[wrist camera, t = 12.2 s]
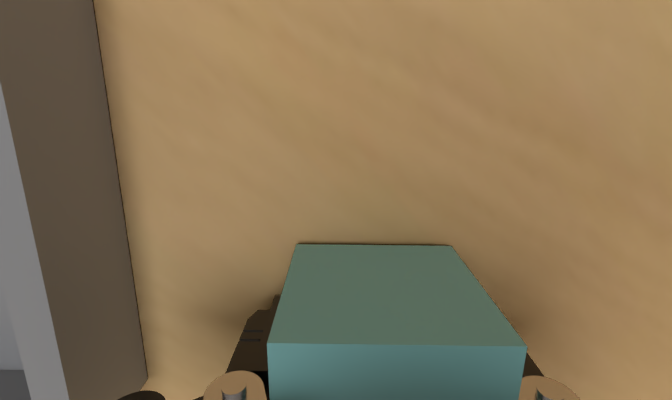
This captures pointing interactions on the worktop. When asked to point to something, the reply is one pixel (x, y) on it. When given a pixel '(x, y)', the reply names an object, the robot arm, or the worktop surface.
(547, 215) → the worktop surface
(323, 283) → the teal block
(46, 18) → the tray
